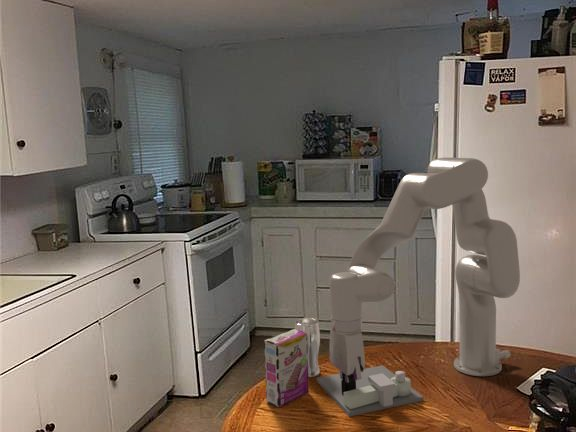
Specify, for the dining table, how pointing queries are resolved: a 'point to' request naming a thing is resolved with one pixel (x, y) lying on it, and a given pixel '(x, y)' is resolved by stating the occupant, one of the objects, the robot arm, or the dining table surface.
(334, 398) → the board
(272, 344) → the candy bar box
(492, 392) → the dining table surface
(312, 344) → the beer glass
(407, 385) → the link
